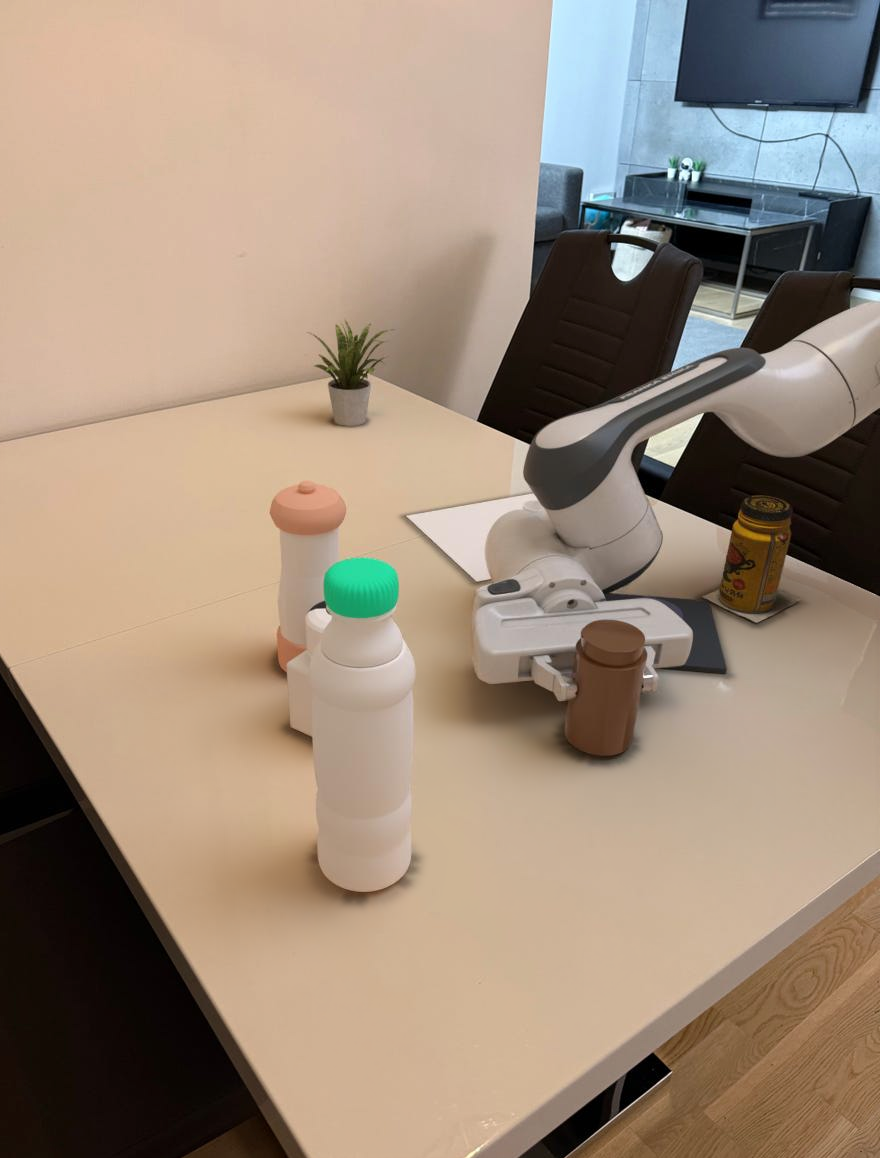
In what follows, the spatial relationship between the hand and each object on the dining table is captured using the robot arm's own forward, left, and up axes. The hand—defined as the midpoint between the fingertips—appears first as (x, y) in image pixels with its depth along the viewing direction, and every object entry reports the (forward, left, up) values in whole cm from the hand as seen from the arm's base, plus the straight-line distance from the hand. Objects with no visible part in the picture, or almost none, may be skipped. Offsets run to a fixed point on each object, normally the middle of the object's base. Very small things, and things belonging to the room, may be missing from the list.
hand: (609, 690), depth 81 cm
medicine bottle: (+23, 0, -6) cm, 24 cm away
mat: (-6, -21, -6) cm, 22 cm away
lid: (-6, -21, -4) cm, 22 cm away
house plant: (+37, -82, -6) cm, 90 cm away
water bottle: (+18, +17, -6) cm, 26 cm away
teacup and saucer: (+10, -43, -6) cm, 44 cm away
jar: (0, -1, -5) cm, 6 cm away
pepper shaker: (+28, -10, -6) cm, 30 cm away
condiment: (-18, -30, -6) cm, 35 cm away
